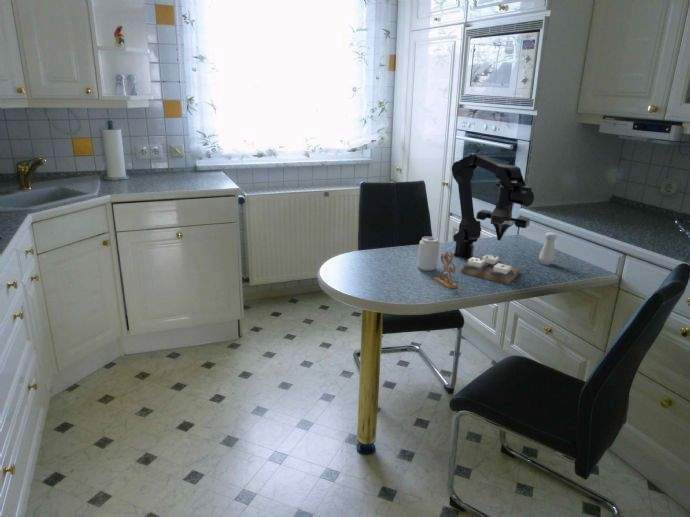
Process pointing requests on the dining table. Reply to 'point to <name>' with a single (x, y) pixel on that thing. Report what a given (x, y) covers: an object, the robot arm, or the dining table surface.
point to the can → (428, 253)
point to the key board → (491, 272)
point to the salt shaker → (548, 249)
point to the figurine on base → (441, 278)
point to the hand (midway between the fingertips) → (499, 240)
